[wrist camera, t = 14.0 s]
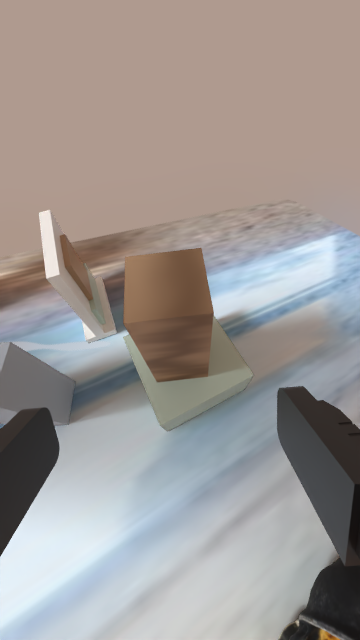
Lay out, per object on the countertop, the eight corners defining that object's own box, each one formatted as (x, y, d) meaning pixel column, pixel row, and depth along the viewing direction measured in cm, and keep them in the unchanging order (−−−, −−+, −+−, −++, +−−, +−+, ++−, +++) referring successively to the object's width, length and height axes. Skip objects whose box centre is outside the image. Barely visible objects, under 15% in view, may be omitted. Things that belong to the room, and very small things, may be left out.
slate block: (26, 427, 28) (-77, 410, 18) (36, 384, 30) (-49, 347, 20) (68, 424, 28) (-10, 405, 17) (75, 381, 30) (10, 342, 20)
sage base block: (167, 431, 27) (160, 425, 22) (135, 356, 32) (123, 337, 26) (244, 390, 29) (253, 375, 23) (202, 324, 33) (203, 300, 28)
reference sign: (88, 343, 33) (30, 283, 22) (78, 288, 38) (26, 216, 26) (117, 333, 33) (74, 269, 22) (103, 280, 38) (62, 206, 27)
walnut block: (157, 382, 24) (123, 323, 13) (155, 336, 26) (125, 257, 16) (207, 376, 24) (213, 312, 13) (200, 331, 26) (201, 247, 16)
